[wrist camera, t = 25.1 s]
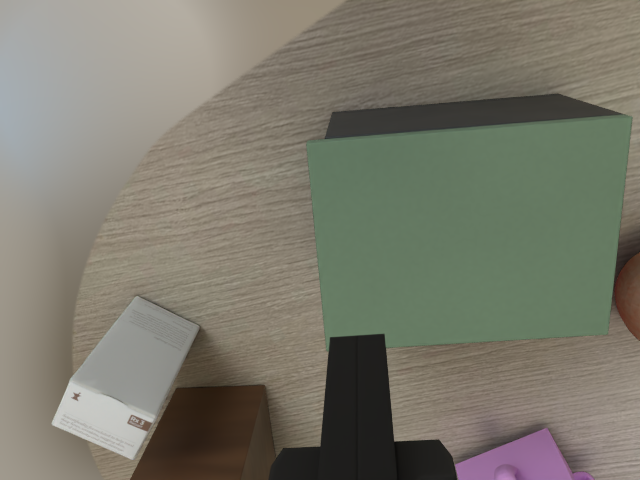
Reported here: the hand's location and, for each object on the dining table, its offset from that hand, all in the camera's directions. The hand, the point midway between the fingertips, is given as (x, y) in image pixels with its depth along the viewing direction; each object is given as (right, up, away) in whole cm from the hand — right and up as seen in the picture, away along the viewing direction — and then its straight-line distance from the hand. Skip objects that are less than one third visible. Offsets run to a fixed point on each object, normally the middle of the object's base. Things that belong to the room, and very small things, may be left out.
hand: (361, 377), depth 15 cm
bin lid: (+7, +4, +16) cm, 18 cm away
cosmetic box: (-14, -3, +31) cm, 34 cm away
